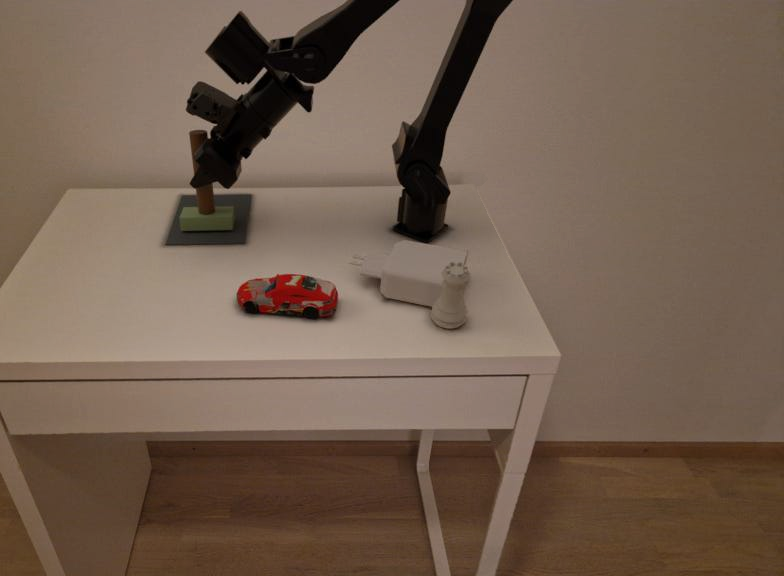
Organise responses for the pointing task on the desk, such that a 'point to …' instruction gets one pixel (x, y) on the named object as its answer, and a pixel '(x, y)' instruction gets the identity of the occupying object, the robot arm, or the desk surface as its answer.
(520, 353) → the desk surface
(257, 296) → the race car
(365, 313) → the desk surface
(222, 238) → the mat
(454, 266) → the rook chess piece
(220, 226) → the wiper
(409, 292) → the charger
